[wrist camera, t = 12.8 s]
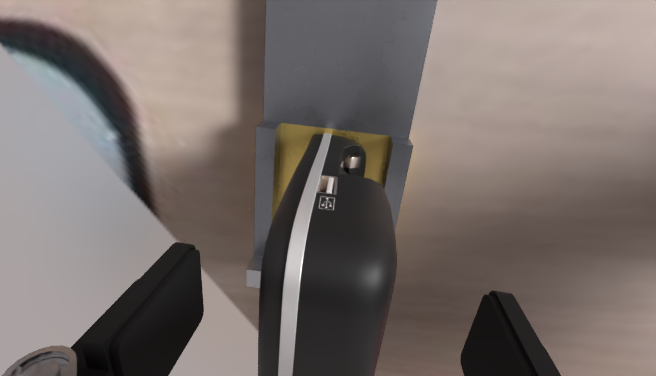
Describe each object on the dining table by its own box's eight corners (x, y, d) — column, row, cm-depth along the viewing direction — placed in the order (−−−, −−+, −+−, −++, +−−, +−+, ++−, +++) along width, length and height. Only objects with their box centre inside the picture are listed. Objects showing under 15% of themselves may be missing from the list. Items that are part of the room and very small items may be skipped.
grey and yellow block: (450, -104, 15) (491, -167, 11) (378, 253, 23) (384, 304, 19) (279, -121, 15) (248, -190, 11) (267, 239, 24) (246, 286, 19)
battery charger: (364, 242, 21) (373, 444, 10) (303, 235, 21) (254, 427, 10) (382, 134, 18) (420, 261, 7) (312, 126, 18) (255, 240, 8)
